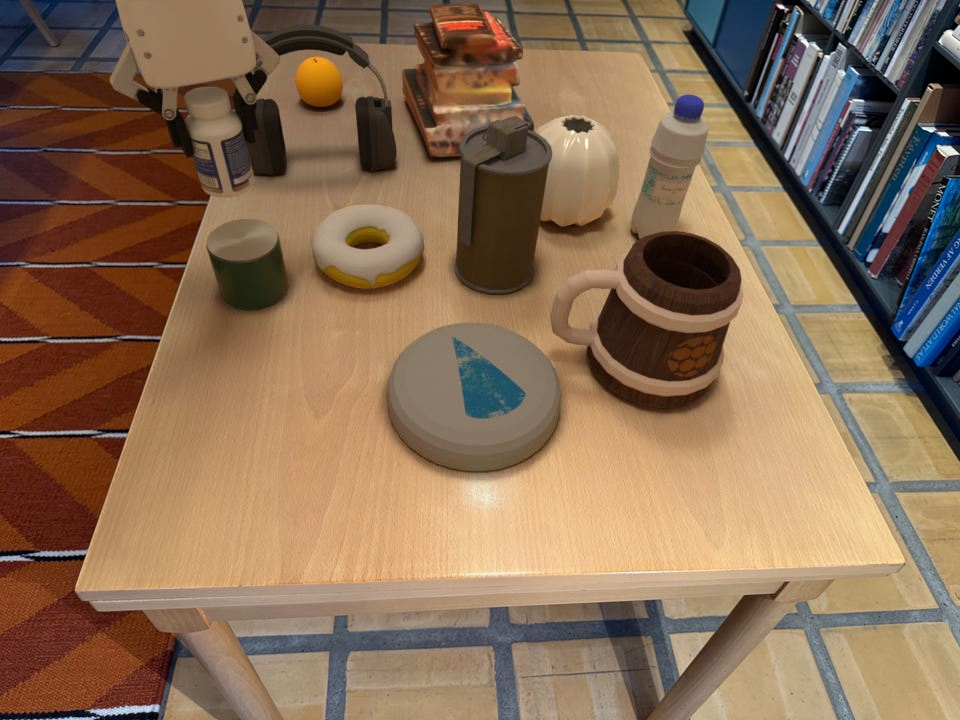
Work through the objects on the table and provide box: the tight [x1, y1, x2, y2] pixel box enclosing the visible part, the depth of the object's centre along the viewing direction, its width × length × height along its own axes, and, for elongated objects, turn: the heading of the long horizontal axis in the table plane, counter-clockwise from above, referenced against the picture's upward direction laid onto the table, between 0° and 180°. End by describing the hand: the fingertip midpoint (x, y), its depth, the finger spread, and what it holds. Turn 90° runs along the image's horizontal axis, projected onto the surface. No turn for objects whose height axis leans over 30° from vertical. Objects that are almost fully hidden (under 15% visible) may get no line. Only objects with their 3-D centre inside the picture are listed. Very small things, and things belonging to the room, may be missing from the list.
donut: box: [311, 203, 425, 290], centre depth 82 cm, size 14×14×5 cm
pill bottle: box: [183, 86, 255, 199], centre depth 65 cm, size 5×5×10 cm
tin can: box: [206, 218, 290, 311], centre depth 77 cm, size 8×8×8 cm
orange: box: [294, 56, 344, 108], centre depth 110 cm, size 8×8×8 cm
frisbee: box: [386, 321, 562, 472], centre depth 68 cm, size 18×18×5 cm
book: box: [401, 2, 535, 159], centre depth 104 cm, size 23×18×17 cm
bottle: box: [630, 93, 709, 240], centre depth 85 cm, size 7×7×20 cm
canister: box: [453, 116, 552, 295], centre depth 77 cm, size 11×10×20 cm
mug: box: [549, 230, 744, 409], centre depth 69 cm, size 20×15×15 cm
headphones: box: [244, 23, 398, 176], centre depth 92 cm, size 22×6×20 cm, turn 100°
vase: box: [535, 114, 620, 228], centre depth 90 cm, size 14×14×13 cm
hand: (217, 142), depth 65 cm, fingers closed on pill bottle, 5 cm apart
